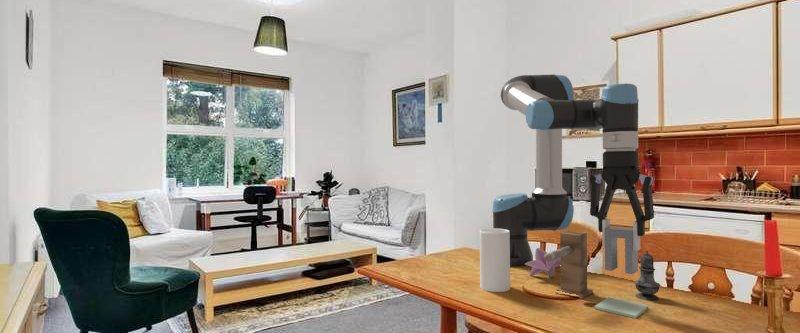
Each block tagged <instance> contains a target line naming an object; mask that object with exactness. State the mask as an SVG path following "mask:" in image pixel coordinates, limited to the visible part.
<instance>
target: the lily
mask: <svg viewBox="0 0 800 333" xmlns="http://www.w3.org/2000/svg"><path fill="white" fill-rule="evenodd" d="M534 253H535V254H534V258H535V260H534V259H533V261H530V262H527V263H525V265H524V266H529V267H531V270H530V272H529V276H534V275H537V274H540V273H543V272H544V273H546V274H547V275H548V278H549V282H550V281H551V282H552V279H551V277H554V276H555V268H556V267H561V258H558V259H555V260H553V261H550V262H547V261H546V260H545V259H544V255H545V254H547V253H548V252H547V251H545V250H544V249H542V248H540V247H536V249H535V252H534Z"/></svg>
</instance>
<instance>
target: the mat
mask: <svg viewBox="0 0 800 333" xmlns="http://www.w3.org/2000/svg"><path fill="white" fill-rule="evenodd" d="M593 308H594V310H599V311H603V312H605V313H610V314H611V313H612V314H616V315H620V316H625V317H628V318H632V319H637V318H639V316H640V315H641V314H643V313H644V312H646V310H648V309H649V305H647V304H642V303H637V302H633V301H628V300H625V299H618V298H614V297H609V296H608V297H607V298H604V299H603V300H601V301H600V302H599V303H598V304H595V305H594V307H593Z"/></svg>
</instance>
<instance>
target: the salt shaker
mask: <svg viewBox="0 0 800 333" xmlns="http://www.w3.org/2000/svg"><path fill="white" fill-rule="evenodd" d="M638 270H640V271H639V272H640V273H639V274H640V275H639V278H638V280H634V283H633V284H634V285H635V288H636V290H637V291H638V293H636V294H635V298H637V299H640V300H644V301H653V302H654V301H656V302H657V301H659V300H660V297H659V296H657V295H656V294H657V293H658V292H659V290H660V287H661V286H662V285H661V283H659V282H657V281H656V280H655V270H656V268H654V257H653V255H651V254H650V253H649V251H648V250H646V251H645V253H644V254H643V253H642V254H641V256H640V266H638Z"/></svg>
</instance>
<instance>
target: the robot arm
mask: <svg viewBox="0 0 800 333" xmlns="http://www.w3.org/2000/svg"><path fill="white" fill-rule="evenodd" d="M638 95H639V94H638V87H637V86H636V85H635V84H634V83H615V84H610V85H605V86H604V87H603V88H602V92H601V96H600V98H597V99H574V86H573V83H572V82H571V80H570V79H569V77H568V76H566V75H564V74H554V73H553V74H533V75H532V74H531V75H530V74H529V75H528V74H524V75H518V76H515V77H514V76H513V78H511V79H509V80H508V81H507V82H505V83H504V85H503V86H502V87H501V90H500V100H501V101H502V103H503V105H504V106H505V107H506V108H508V109H509V110H512V111H518V112H520V113H521V115H524V116H525V121H526V124H527V127H528V128H530V129H531V130H535V162H536V163H535V164H536V166H535V169H536V170H535V176H536V177H535V179H536V180H535V181H536V182H535V183H536V184H535V188H534V189H533V190H531V197H528V195H527V193H525V192H523V193H521V192H520V193H510V194H504V195H499V196H497V197H496V196H495V198H494V199H493V201H492V228H498V229H506V230H509V232H510V267H521V266H526V265H525V263H527V262H530V261H533V260H534V254H533V252H532V249H531V247H530V244H529V241H528V232H529V231H530V232H531V231H533V232H534V231H537V232H538V231H552V232H555V231H556V232H557V231H564V230H566V229H568V228H570V227H569V226H570V225H571V224H572V221H573V217H574V214H575V212H574V210H575V207H574V205H573V199H572V198H571V197H570V196H568V195H567V194H568V192H567V191H566V190H565V189H564V187H563V130H594V131H595V130H596V131H598V130H601V129H602V149H603V150H605V151H603V153H602V171H601V172H600V173H599V174H597V175H590V176H589V181H590V185H591V187H590V188H591V189H590V206H589V207H590V208H589V215H590V216H592V217H595V218H597V220H598V221H597V222H598V226H597V227H598V232H599V233H602V235H601V237H602V248H605V228H606V227H609V226H611V223H610V221H611V220H610V218H608V213H609V210H610V206H611V203H612V201H613V198H614V194H615V193H616V191H617V190H622V191H625V193H626V195H627V197H628V200H629V204H630V206H631V208H632V211H633V215H634V218H635V221H633V222H632V228H633V251H640V250H641V237H644V236H645V234H646V226H645V225H646V222H648V221H651V220H653V219H655V210H654V198H653V189H652V188H653V187H652V186H653V184H654V180H655V178H654V176H652V175H649V176H648V175H645V174H641V171H640V170H639V166H640V165H639V152H638V151H637V150H636V149H639V102H640V100H639V98H638ZM602 180H603V181H604V182H605V184H606V187H605V191H604V195H603V199H602V201H601V200H600V197H601V183H602ZM638 181H640V184H641V185H642V197H643V208H644V210H643V208H642V204H641V202H640V200H639V197H638V194H637V193H638V192H637V188H636V187H635V185H636V184H637V183H638ZM600 201H601V204H600Z"/></svg>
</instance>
